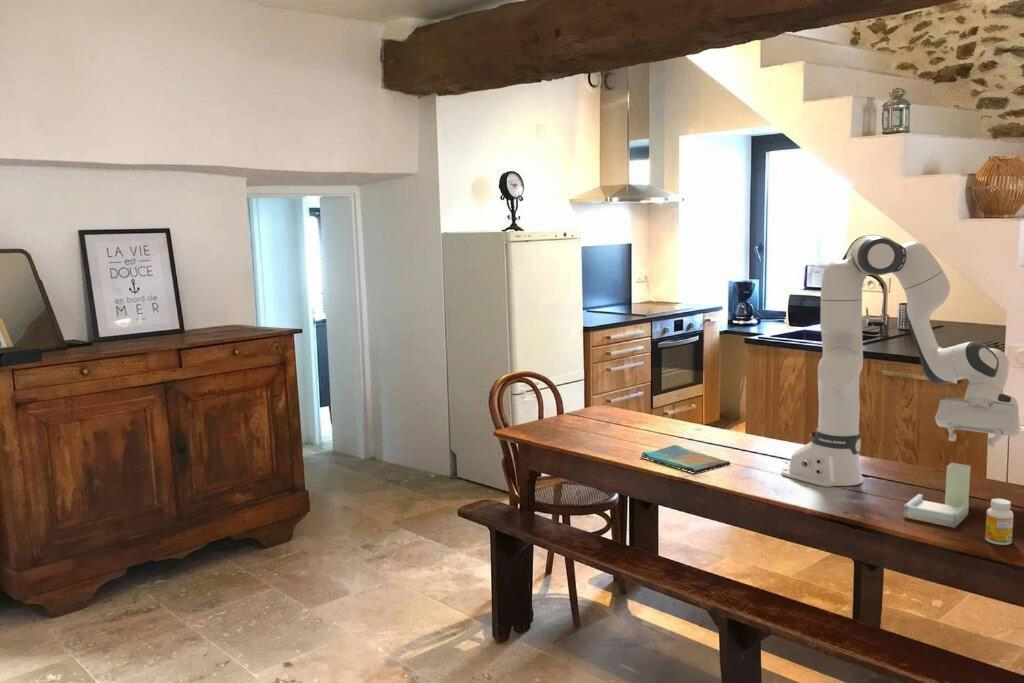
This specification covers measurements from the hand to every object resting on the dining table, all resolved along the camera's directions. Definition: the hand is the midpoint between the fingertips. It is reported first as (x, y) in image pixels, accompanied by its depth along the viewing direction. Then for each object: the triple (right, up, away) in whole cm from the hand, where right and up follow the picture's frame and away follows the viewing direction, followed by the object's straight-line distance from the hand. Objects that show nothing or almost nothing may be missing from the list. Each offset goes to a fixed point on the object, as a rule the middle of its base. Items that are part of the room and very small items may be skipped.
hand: (970, 442), depth 224 cm
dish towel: (-69, -12, +40) cm, 81 cm away
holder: (-16, -17, -13) cm, 27 cm away
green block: (-7, -16, -6) cm, 19 cm away
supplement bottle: (-10, -20, -30) cm, 37 cm away
